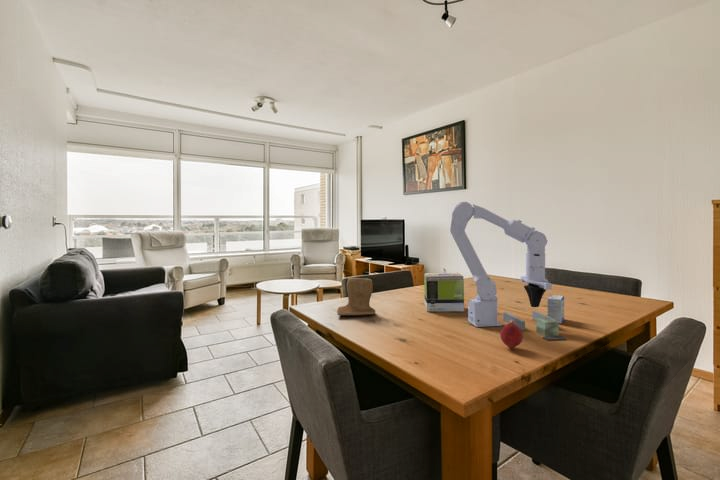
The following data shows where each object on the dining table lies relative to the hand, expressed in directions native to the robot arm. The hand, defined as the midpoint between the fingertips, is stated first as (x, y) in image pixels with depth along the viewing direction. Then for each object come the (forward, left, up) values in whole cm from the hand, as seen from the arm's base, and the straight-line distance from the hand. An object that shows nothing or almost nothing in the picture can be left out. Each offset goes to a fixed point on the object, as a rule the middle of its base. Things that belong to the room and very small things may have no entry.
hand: (534, 306), depth 116 cm
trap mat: (-1, -12, -7) cm, 14 cm away
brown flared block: (-59, +25, -7) cm, 65 cm away
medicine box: (+12, +6, -7) cm, 16 cm away
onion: (-18, -18, -7) cm, 26 cm away
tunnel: (0, +3, -7) cm, 8 cm away
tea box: (-22, +28, -7) cm, 37 cm away
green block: (0, -7, -7) cm, 10 cm away
